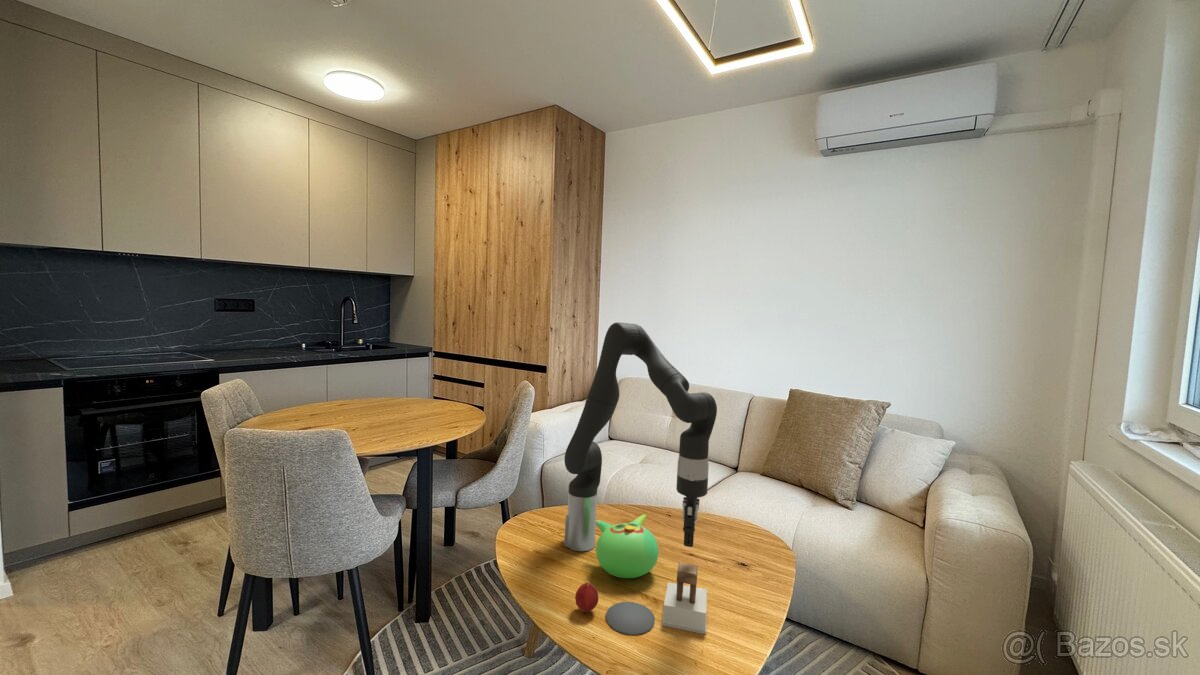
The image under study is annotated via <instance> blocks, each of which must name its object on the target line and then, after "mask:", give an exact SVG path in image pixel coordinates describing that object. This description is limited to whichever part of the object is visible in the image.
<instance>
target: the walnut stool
mask: <svg viewBox="0 0 1200 675" xmlns="http://www.w3.org/2000/svg"><path fill="white" fill-rule="evenodd" d="M698 568H699V565H697V564H691V563H684V562H678V565H677V570H676V584H677V594H676V600H677V601H682V593H683V585H684V584H686V585H687V584H688V585H689V586H690V599H689V602H690V603H691V604H694V603H695V597H696V588H697V583H698V571H699V570H698Z"/></svg>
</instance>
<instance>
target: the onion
mask: <svg viewBox="0 0 1200 675" xmlns="http://www.w3.org/2000/svg"><path fill="white" fill-rule="evenodd" d="M574 598H575V604H576V606H577V608H578V609H579V610H581V611H582V612H583V613H586V614H588V613H589V612H591V611H593V610H594V609H595V608H596V607H597V605H598V604H599V603H598V602H599V592H598V590H597V588H596V587H595V586H594V585H593V583H591V582H590V581H588V580H587V581H586V582H584V583H583V584H581V585H580V586H579V587H578V588H577V590H576V592H575V596H574Z"/></svg>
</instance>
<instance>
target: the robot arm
mask: <svg viewBox="0 0 1200 675" xmlns="http://www.w3.org/2000/svg"><path fill="white" fill-rule="evenodd" d="M624 355H625V356H626V355H627V356H635V357H637V358H638V359H640V360H641V361H643V362H644V364H645V365H646V368H647V372H648V376H649V379H650V381H651V382H652V384H653V385H654V386H655V387H656V388H657V389H658V390H659V391H660V392H661V393H662V395H664V396H665V399H666V400H667V402H668V404H669V406H670V407H671V410H672V412H673V414H674V415H675V417H677V419H679V420H680V421H681V422H684V423H686V424H690V426H689V427H688V428H687V429H686V430H683V431H682V432H681V434H680V435H679V448H678V454H679V455H678V460H677V468H676V469H677V470H676V488H675V489H676V491H677V493H678V494H679V495H682V496H683V500H682V520H683V528H682V531H683V532H684V533H683V546H684V547H686V548H688V547H689V548H692V547H694V539H695V538H694V534H695V531H696V523H697V522H698V512H699V510H700V500H701V499H699V498H702V497H705V496H706V495H707V494H708V482H709V468H710V467H709V464H710V463H709V445H710V444H709V443H710V438H711V436H712V431H713V430H714V425H715V422H716V419H717V414H718V407H717V402H716V399H715V398H714V396H713V395H712V394H710V393H708V392H705V391H703V392H701V391H700V392H694V393H690V392H689V388H690V382H689V381H688V379H687V378H686V377H685V376H684V375H683V374H682V373H681V372H680V371H679V370H678V369H677V368H676V367H675V366H674V365H672V363H671V362H670V361H669V360H668V359H667V358H666V357H665V356H664V354H662V352H661V351H660V349H659V348H658V347H657V345H656V344H655V342H654V341H653V339H652V338H651V337H650V335H649V334H648V333H647V331H646V330H645V329H644V328H643V327H642V326H641V325H639V324H637V323H629V322H627V323H626V322H620V321H619V322H614V323H612V324H611V325H609V327H608V329H607V331H606V333H605V336H604V340H603V343H602V348H601V352H600V357H599V360H598V364H597V368H596V371H595V375H594V378H593V381H592V383H591V386H590V389H589V391H588V394H587V397H586V400H585V404H584V406H583V410H582V413H581V415H580V418H579V419H578V423H577V426H576V428H575V431H574V433H573V435H572V437H571V439H570V441H569V443H568V445H567V447H566V450H565V453H564V459H563V460H564V466H565V469H566V470H567V472H568V473H570V474H572V475H576V476H575V477H574V478H573V479H572V480H570V482H569V484H568V491H567V492H568V494H567V495H568V496H567V498H568V499H567V515H566V516H565V518H564V519H565V521H564V540H563V541H564V542H563V545H564V547H565V548H568V549H570V550H572V551H574V552H575V551H576V552H588V551H591V550H592V549H594V548H595V545H596V528H597V525H596V523H595V521H596V520H597V507H598V506H597V505H598V504H597V503H598V501H597V500H598V489H599V486H600V484H601V476H602V475H601V474H602V467H603V465H602V464H603V457H602V456H603V455H602V450H601V447H600V446H599V444H597V443H596V442H595V441H594V440H595V439H596V437H597V436H598V434H599V433H600V432H601V431H602V430H603V428H605V426H607V424H608V423H609V422H610V420H611V418H612V417H613V415H614V413H615V410H616V408H617V405H618V403H619V399H620V386H619V382H618V378H617V369H618V366H619V361H620V359H621V357H622V356H624Z"/></svg>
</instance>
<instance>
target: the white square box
mask: <svg viewBox="0 0 1200 675" xmlns="http://www.w3.org/2000/svg"><path fill="white" fill-rule="evenodd" d="M676 594H677V583H674V582H669V581H668V582H667V586H666V592H665V597H664V603H663V612H662V613H663V614H662V615H663V616H662V620H661V626H663V627H667V628H668V627H669V628H672V629H677V630H683V631H687V632H693V633H698V634H702V635H707V614H708V605H707V599H708V589H706V588H700V587H696V597H695V603H694V604H691V603H690V602H689V599H690V585H685V584H683V593H682V601H677V600H676Z"/></svg>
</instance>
